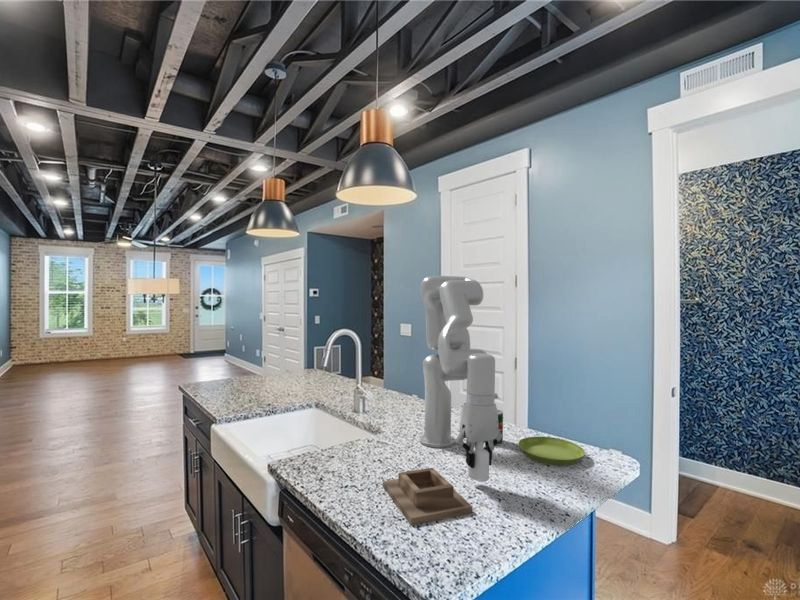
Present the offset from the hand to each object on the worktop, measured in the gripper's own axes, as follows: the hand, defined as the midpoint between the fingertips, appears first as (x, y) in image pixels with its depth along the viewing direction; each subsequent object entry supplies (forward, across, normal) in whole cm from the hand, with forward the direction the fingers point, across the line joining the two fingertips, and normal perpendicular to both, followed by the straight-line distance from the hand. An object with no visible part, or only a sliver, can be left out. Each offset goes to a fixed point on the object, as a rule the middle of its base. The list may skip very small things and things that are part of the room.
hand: (478, 464), depth 111 cm
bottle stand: (+6, +17, +2) cm, 18 cm away
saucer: (+7, -35, -11) cm, 37 cm away
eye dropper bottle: (+4, 0, 0) cm, 4 cm away
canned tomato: (+7, -24, -29) cm, 38 cm away
